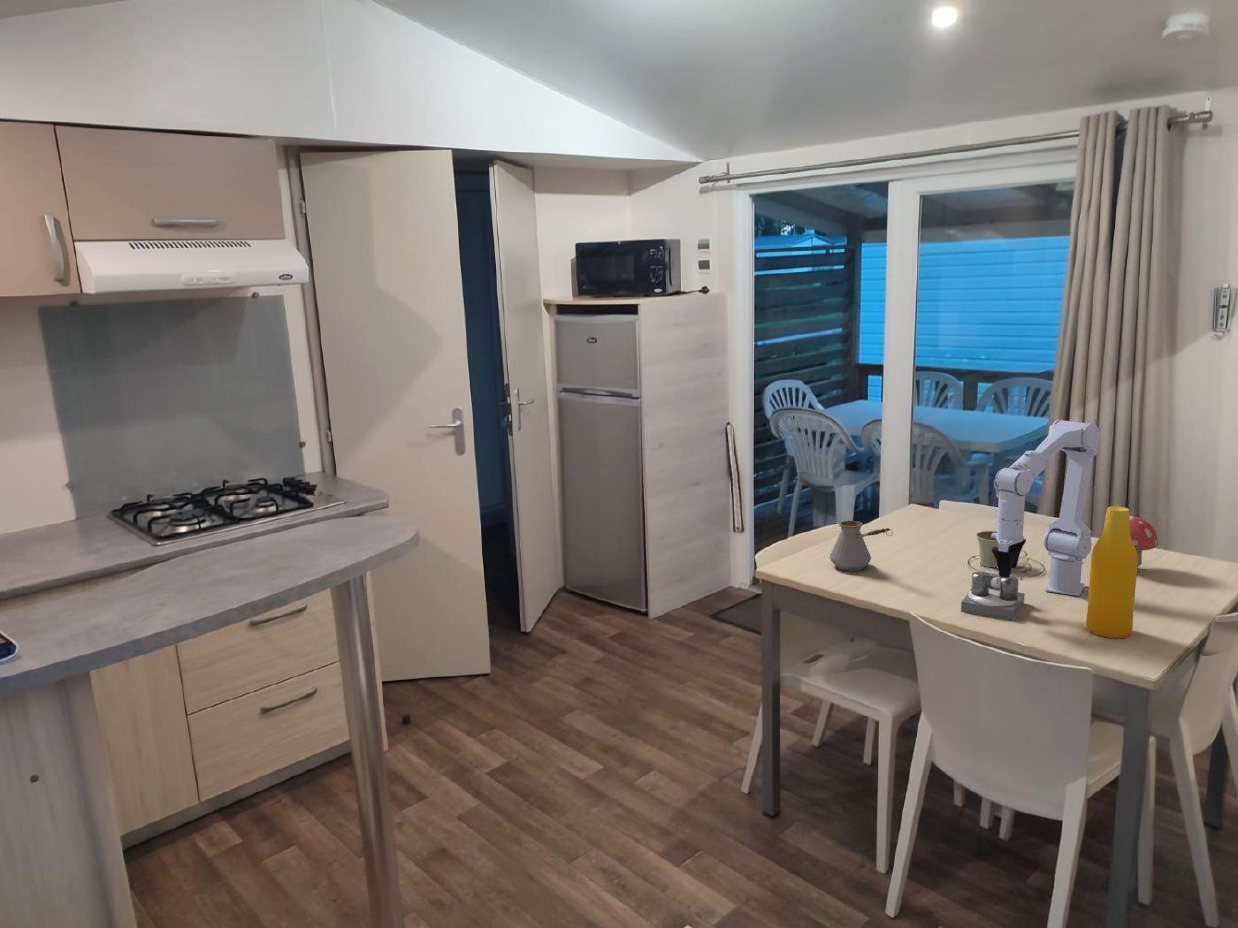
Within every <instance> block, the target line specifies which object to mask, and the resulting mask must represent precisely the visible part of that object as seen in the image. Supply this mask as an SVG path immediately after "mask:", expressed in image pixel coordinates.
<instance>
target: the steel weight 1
mask: <svg viewBox="0 0 1238 928" xmlns="http://www.w3.org/2000/svg"><path fill="white" fill-rule="evenodd" d="M988 573H989V572H987V573H985V571H975V572H972V573H971V574H972V576H971V589H972V590H971V589H970V590H971V593H972V594H973V595H975V596H981V597H984V596H988V595H989V582H990V575H989V574H988Z"/></svg>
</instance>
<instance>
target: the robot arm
mask: <svg viewBox="0 0 1238 928" xmlns="http://www.w3.org/2000/svg"><path fill="white" fill-rule="evenodd" d="M1100 437H1101V431H1100V429H1099V428H1098V426H1097V424H1096V423H1093V422H1090V423H1089V422H1087V423H1086V422H1080V421H1079V422H1078V421H1069V420H1063V419H1059V418H1058V419H1056V420H1055V421H1054V422H1053V423H1052V424H1050V426H1049V429H1048V434H1047V436H1046V437H1045V439H1044V440H1042V442H1041V443H1040V444H1039V445H1038V446H1037V447H1036V449H1034V450H1026V451H1025V452H1024V453H1023V454H1022V455H1021V456H1020V457H1019V458H1018V459H1017V460H1016V461H1014V462H1013V463H1012V465H1010V466H1009V467H1004V468H1002V469H999V470H998V471H997V473H996V475H995V476H994V477H995V478H994V480H993V487H994V489H995V492H996V493H995V494H996V495H995V496H996V498H997V499H998V503H997V506H998V508H997V526H996V527H997V529H996V531H997V533H992V536H991V537H993V538H996V539H997V541H998V543H999V547H993V548H992V553H993V554H994V556H995V559H996V561H997V566H998V568H997V571H998V574H999V576H1000V577H1006V578H1009V576H1011V574H1012V570H1013V569H1016V568H1017V565H1018V562H1019V559H1020V555H1021V552H1022V549H1023V547H1024V545H1025V544H1026V542H1027V539H1026V538H1025V537H1024V523H1025V522H1024V521H1025V504H1026V503H1025V500H1026V494H1028V493H1029V492H1030V490H1031V488H1032V485H1033V484H1034V481H1035V478H1036V477H1037V476H1039V475H1040V474H1041V473H1042V472H1043V471H1044V470H1045V469H1046V467H1047V461H1048V460H1050V459H1051V458H1052V457H1053V456H1054V455H1055V454H1057V453H1059V452H1060V450H1061V451H1062V452H1064V453H1065V454H1066V455H1067V457H1068V465H1067V470H1066V476H1065V481H1064V489H1063V494H1062V500H1061V506H1060V512H1059V516H1058V518H1057V519H1055V520H1053V521H1051V522H1050V523H1049V524H1048V528H1047V531H1046V533H1045V534H1044V537H1043V545H1044V548H1045V550H1046V551H1047V555H1048V556H1050V563H1049V564H1050V566H1049V580H1048V581H1049V582H1048V583H1047V585H1046V586H1045V588H1044V591H1045V592H1047V593H1048V592H1049V593H1055V594H1062V595H1063V594H1064V595H1069V596H1075V597H1080V596H1081V593H1082V591H1083V589H1084V587H1085V583H1084V582H1081V579H1082V567H1083V560H1084V559H1086V558H1087V557H1088V556H1089V555H1090V553H1091V552H1092V530H1091V529H1090V528H1089V527H1088V526H1087V524H1086V523H1084V521H1083V516H1084V510H1085V504H1086V499H1087V493H1088V487H1089V481H1090V475H1091V469H1092V464H1093V458H1094V457H1095V456H1097V455H1098V451H1099V450H1098V449H1099V445H1100V439H1101V438H1100Z"/></svg>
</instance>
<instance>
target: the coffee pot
mask: <svg viewBox="0 0 1238 928" xmlns="http://www.w3.org/2000/svg"><path fill="white" fill-rule="evenodd" d="M838 525H839V527H840V529H841V530H840V533H839V535H838V537H837V539H836V541H835V544H834V545H833V548H832V549H831V551H830V553H829V560H830V561H831V562H832V564H833V565H834V566H836V568H837V569H839V570H842V571H845V572H846V571H847V572H848V571H849V572H854V571H855V572H856V571H861V570H864V568H865V567H867V566H868V565H869V563H870V562H871V560H872V556H871V553H870V551H869V548H868V546H867V544H866V542H865V539H864V537H870V536H874V535H875V536H877V535H879V534H882V533H883V534H886V536H888V537H890V536H893V534H894V533H893V530H892V529H890V527H889V528H887V527H886V528H881V529H876V530H872V531H868V532H864V533H861V528H862V526H863V522H861V521H858V520H857V521H856V520H843V521H840V522H839V523H838ZM889 531H891V534H890V535H889V534H887V532H889Z"/></svg>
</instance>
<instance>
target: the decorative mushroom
mask: <svg viewBox="0 0 1238 928" xmlns="http://www.w3.org/2000/svg"><path fill="white" fill-rule="evenodd" d="M1129 519H1130V536H1131V539H1132V541H1133V543H1134V546H1135V548H1136V551H1137V556H1138V565H1137V568H1138V567H1140V566H1141V565H1142V563H1143V562H1142V561H1143V557H1142V556H1143V552H1142V551H1149V550H1153V549H1155V548H1156V547H1158V545H1159V541H1158V540H1159V539H1158V534H1157V531H1156V530H1155V528H1154V527H1153V525H1152V524H1150V523H1149V522H1148V521H1147V520H1145V519H1143V518H1141V517H1137V516H1132V515H1129Z"/></svg>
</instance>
